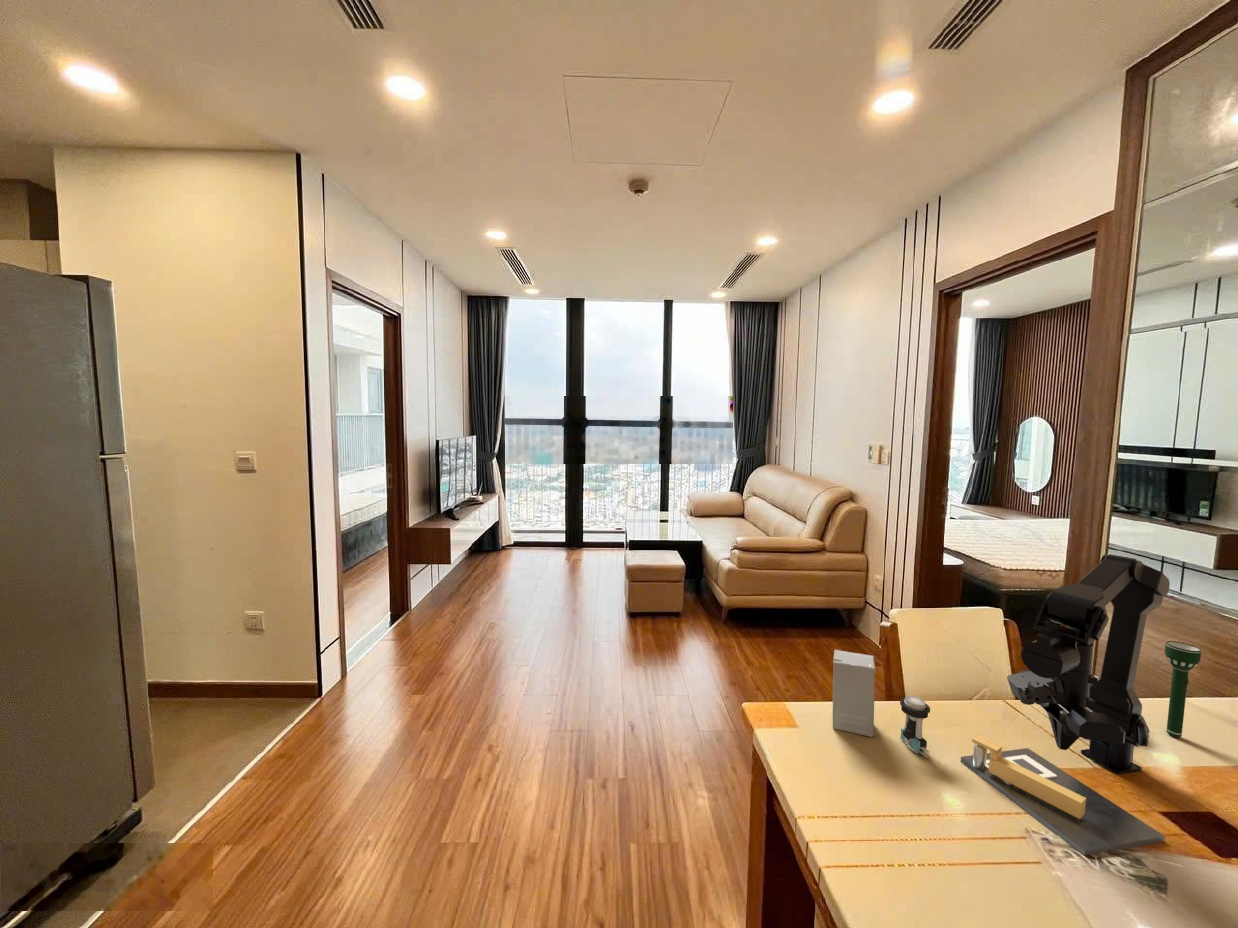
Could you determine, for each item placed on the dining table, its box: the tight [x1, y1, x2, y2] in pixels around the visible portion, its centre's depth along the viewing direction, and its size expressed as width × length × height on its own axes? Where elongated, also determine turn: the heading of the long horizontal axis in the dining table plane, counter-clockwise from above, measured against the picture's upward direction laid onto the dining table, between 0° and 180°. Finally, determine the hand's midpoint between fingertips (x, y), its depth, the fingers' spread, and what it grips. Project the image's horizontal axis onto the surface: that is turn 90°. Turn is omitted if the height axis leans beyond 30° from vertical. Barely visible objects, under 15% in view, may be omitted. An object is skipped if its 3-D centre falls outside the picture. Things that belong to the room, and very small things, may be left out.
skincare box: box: [832, 649, 876, 738], centre depth 108 cm, size 8×7×16 cm
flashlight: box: [1164, 640, 1202, 738], centre depth 107 cm, size 5×5×20 cm
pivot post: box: [972, 742, 988, 770], centre depth 95 cm, size 2×2×5 cm
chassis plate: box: [960, 747, 1166, 857], centre depth 88 cm, size 16×22×1 cm
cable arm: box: [971, 735, 1086, 819], centre depth 89 cm, size 16×2×5 cm, turn 32°
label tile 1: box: [1005, 755, 1057, 779], centre depth 95 cm, size 5×6×1 cm
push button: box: [899, 695, 931, 758], centre depth 101 cm, size 7×5×10 cm
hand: (1061, 748), depth 88 cm, fingers closed
